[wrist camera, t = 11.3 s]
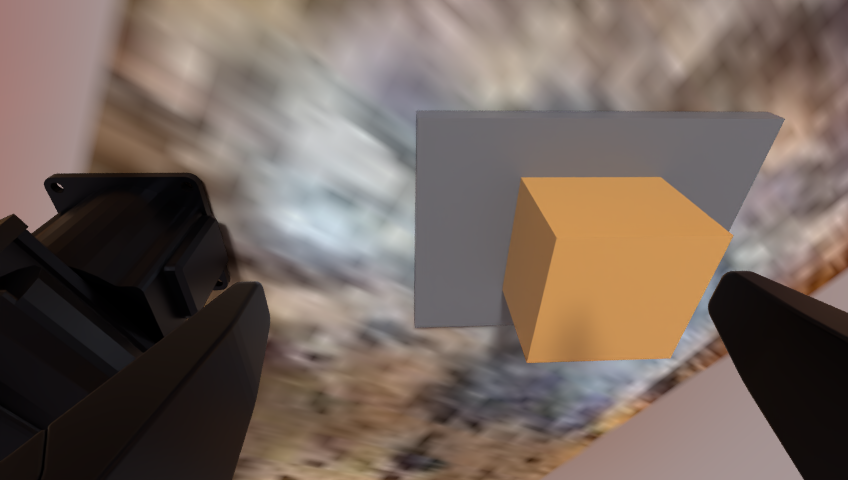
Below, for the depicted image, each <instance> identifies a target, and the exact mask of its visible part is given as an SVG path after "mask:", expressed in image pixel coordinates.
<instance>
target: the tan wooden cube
mask: <svg viewBox="0 0 848 480" xmlns="http://www.w3.org/2000/svg"><path fill="white" fill-rule="evenodd" d="M732 237H733V235H732V234H731V233H730V232H728V231H727V230H726V229H725V228H723V227H722V226H721V225H720V224H718V223H717V222H716V221H715V220H713V219H712V218H711V217H710V216H708V215H707V214H706V213H705V212H703V211H702V210H701V209H700V208H699V207H697V206H696V205H695V204H694V203H692V202H691V201H690V200H689V199H687V198H686V197H685V196H684V195H682V194H681V193H680V192H679V191H677V190H676V189H675V188H674V187H672V186H671V185H670V184H669V183H668V182H666V181H665V180H664V179H663V178H661V177H521V180H520V186H519V192H518V198H517V204H516V210H515V216H514V222H513V228H512V234H511V240H510V246H509V252H508V258H507V264H506V270H505V276H504V282H503V288H502V290H503V293H504V296H505V299H506V302H507V305H508V308H509V311H510V314H511V317H512V320H513V323H514V326H515V329H516V332H517V335H518V338H519V341H520V344H521V347H522V350H523V353H524V356H525V359H526V362H527V363H539V362H570V361H601V360H632V359H663V358H671V356H672V354H673V352H674V350H675V348H676V346H677V344H678V342H679V340H680V338H681V336H682V334H683V333H684V331H685V329H686V327H687V325H688V323H689V321H690V319H691V317H692V315H693V313H694V311H695V309H696V307H697V305H698V303H699V301H700V300H701V298H702V296H703V294H704V292H705V290H706V288H707V286H708V284H709V282H710V280H711V278H712V276H713V274H714V272H715V270H716V268H717V267H718V265H719V263H720V261H721V259H722V257H723V255H724V253H725V251H726V249H727V247H728V245H729V243H730V241H731V239H732Z"/></svg>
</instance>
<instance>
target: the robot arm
mask: <svg viewBox="0 0 848 480" xmlns="http://www.w3.org/2000/svg"><path fill="white" fill-rule="evenodd" d="M185 182H189V183H190V184H191V185H192V186H193V188H189V187H187V186H186V185H185ZM57 183H58V184H60V185H61V186H62V187H63V189H62V188H61V187H59V186H58V185H57ZM44 186H45V189H46V191H47V192H48V195H49V196H50V198H51V200H52V202H53V204H54V206H55V208H56V210H57V212H58V214H57V215H55V216H54V217H53V218H51V219H50V220H49V221H48V222H46V223H45V224H43V225H42V226H41V227H40V228H38V229H37V230H36V231H34V232H33V233H30V232H29V231H28V230H26V229H27V228H28V226H27V225H26V224H25V223H24V222H23V221H22V220H20V219H19V218H18V217H17V216H16V215H15V214H12V215H9V216H7V217H5V218H3V219H1V220H0V480H232V478H233V475H234V472H235V468H236V465H237V462H238V459H239V455H240V452H241V449H242V446H243V442H244V439H245V436H246V433H247V429H248V426H249V423H250V420H251V416H252V413H253V409H254V406H255V402H256V398H257V393H258V388H259V382H260V377H261V372H262V366H263V361H264V355H265V350H266V344H267V339H268V333H269V328H270V314H269V309H268V305H267V301H266V297H265V293H264V289H263V286H262V285H261V283H259V282H257V281H255V282H237V283H235V284H234V285H232V286H231V287H230V288H228V289H227V290H226V291H224V292H223V293H222V294H221V295H219V296H218V297H217V298H215V299H214V300H213V301H211V302H210V303H209V304H207V305H206V306H205V307H203V306H204V305H205V303H206V301H207V299H208V297H209V295H210V294H211V292H212V290H224V289H225V288H226V287H227V286H228V284H229V282H230V276H229V272H228V269H227V266H226V264H227V263H228V257H227V253H226V250H225V246H224V243H223V240H222V236H221V233H220V229H219V226H218V222H217V220H216V219H215V218H214V217H213V216H212V215H211V212H210V209H209V205H208V202H207V199H206V195H205V192H204V189H203V185H202V182H201V180H200V179H199V178H198V177H197V176H196V175H194V174H191V173H70V174H54V175H52V176H50V177H49V178H47V179H46V180H45V182H44ZM218 279H220V280H221V281H222V282H220V281H218ZM708 311H709V314H710V317H711V319H712V321H713V323H714V325H715V327H716V329H717V331H718V333H719V335H720V337H721V339H722V341H723V343H724V345H725V347H726V349H727V351H728V353H729V355H730V357H731V359H732V361H733V363H734V365H735V367H736V369H737V371H738V373H739V375H740V376H741V378H742V380H743V382H744V384H745V385H746V387H747V389H748V391H749V392H750V394H751V395H752V397H753V399H754V400H755V402H756V404H757V405H758V407H759V408H760V410H761V412H762V413H763V415H764V417H765V418H766V420H767V421H768V423H769V424H770V426H771V428H772V429H773V431H774V432H775V434H776V436H777V437H778V439H779V441H780V442H781V444H782V445H783V447H784V449H785V450H786V452H787V453H788V455H789V456H790V458H791V460H792V461H793V463H794V465H795V466H796V468H797V469H798V471H799V472H800V474H801V476H802V477H803V479H804V480H848V313H846V312H845V311H842V310H840V309H838V308H835V307H833V306H831V305H828V304H826V303H824V302H821V301H819V300H817V299H814V298H812V297H810V296H807V295H805V294H803V293H800V292H798V291H796V290H793V289H791V288H789V287H786V286H784V285H782V284H780V283H777V282H775V281H773V280H770V279H768V278H766V277H763V276H761V275H759V274H756V273H754V272H751V271H730V272H727V273H726V274H724V275H723V276H722V278H721V280H720V282H719V284H718V285H717V287H716V289H715V291H714V293H713V295H712V297H711V299H710V301H709V304H708ZM187 318H189V319H188V320H187Z"/></svg>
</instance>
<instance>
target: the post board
mask: <svg viewBox="0 0 848 480" xmlns="http://www.w3.org/2000/svg"><path fill="white" fill-rule="evenodd" d="M784 120H785V119H784V118H782V117H779V116H777V115H774V114H772V113H769V112H643V111H417V118H416V202H415V287H414V321H415V328H419V327H453V326H488V325H514V323H513V320H512V317H511V314H510V311H509V308H508V305H507V302H506V299H505V296H504V293H503V290H502V288H503V282H504V276H505V270H506V264H507V258H508V252H509V246H510V240H511V234H512V228H513V222H514V216H515V210H516V204H517V198H518V192H519V186H520V180H521V177H661V178H663V179H664V180H665V181H666V182H668V183H669V184H670V185H671V186H672V187H674V188H675V189H676V190H677V191H679V192H680V193H681V194H682V195H684V196H685V197H686V198H687V199H689V200H690V201H691V202H692V203H694V204H695V205H696V206H697V207H699V208H700V209H701V210H702V211H703V212H705V213H706V214H707V215H708V216H710V217H711V218H712V219H713V220H715V221H716V222H717V223H718V224H720V225H721V226H722V227H723V228H725V229H726V230H727V231H728V232H729V230H730V228H731V226H732V224H733V222H734V220H735V218H736V216H737V214H738V212H739V210H740V208H741V206H742V204H743V202H744V200H745V198H746V196H747V194H748V192H749V190H750V188H751V186H752V184H753V182H754V180H755V178H756V176H757V174H758V172H759V170H760V168H761V166H762V164H763V162H764V160H765V158H766V156H767V154H768V152H769V150H770V148H771V146H772V144H773V142H774V140H775V138H776V136H777V134H778V132H779V130H780V128H781V126H782V124H783V122H784Z"/></svg>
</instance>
